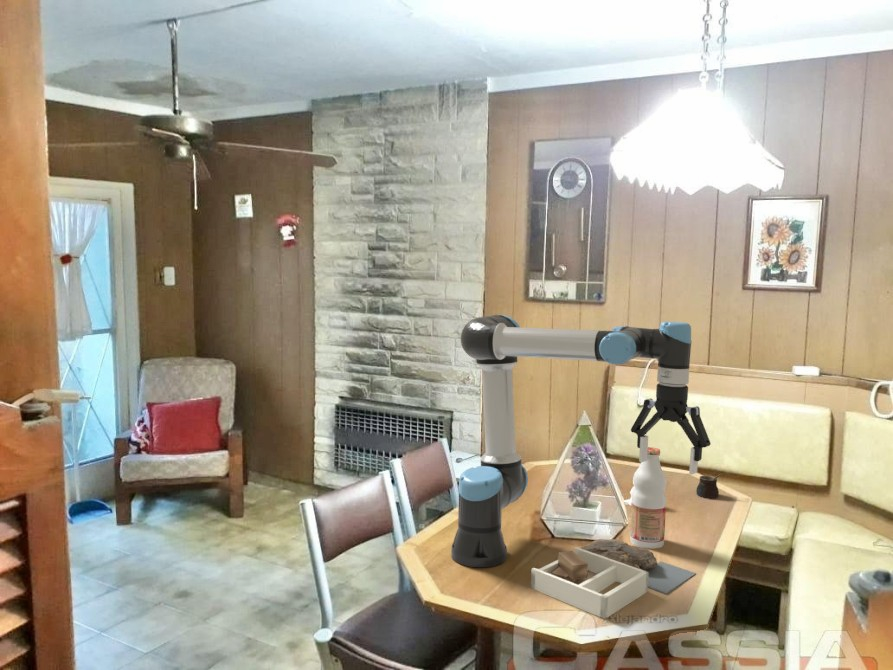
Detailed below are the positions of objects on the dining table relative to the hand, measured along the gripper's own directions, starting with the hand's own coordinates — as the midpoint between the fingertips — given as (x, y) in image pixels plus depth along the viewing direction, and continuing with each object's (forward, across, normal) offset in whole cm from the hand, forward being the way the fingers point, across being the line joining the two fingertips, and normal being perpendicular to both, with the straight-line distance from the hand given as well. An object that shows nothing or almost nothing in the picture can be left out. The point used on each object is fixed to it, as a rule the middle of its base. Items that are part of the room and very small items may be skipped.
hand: (667, 467), depth 178 cm
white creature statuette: (+30, -31, +42) cm, 60 cm away
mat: (+29, +1, 0) cm, 29 cm away
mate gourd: (+29, -18, +67) cm, 76 cm away
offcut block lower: (+30, -16, -20) cm, 39 cm away
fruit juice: (+29, -13, +17) cm, 37 cm away
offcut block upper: (+26, -14, -20) cm, 35 cm away
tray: (+29, -9, -19) cm, 36 cm away
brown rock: (+26, -1, 0) cm, 27 cm away
